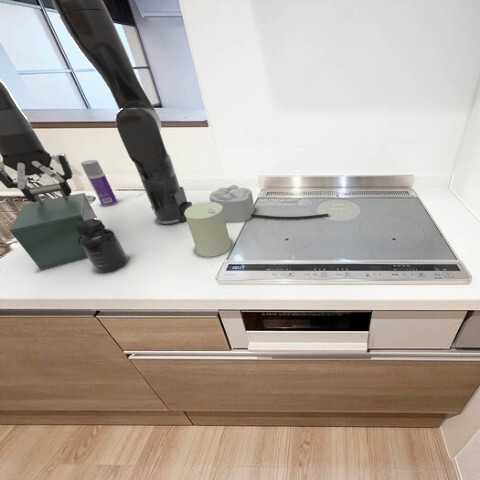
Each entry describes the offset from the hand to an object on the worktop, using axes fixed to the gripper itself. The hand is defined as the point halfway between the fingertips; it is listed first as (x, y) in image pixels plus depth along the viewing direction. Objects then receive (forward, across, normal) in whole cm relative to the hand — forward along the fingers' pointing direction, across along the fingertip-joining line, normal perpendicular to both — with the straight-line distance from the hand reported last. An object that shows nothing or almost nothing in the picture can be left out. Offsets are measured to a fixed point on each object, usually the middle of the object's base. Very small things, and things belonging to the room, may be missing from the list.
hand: (52, 197), depth 69 cm
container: (+13, +8, +21) cm, 26 cm away
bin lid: (+2, 0, -5) cm, 6 cm away
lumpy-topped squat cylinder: (+13, +43, -11) cm, 46 cm away
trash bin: (+13, 0, -6) cm, 14 cm away
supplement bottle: (+13, +8, -20) cm, 25 cm away
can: (+13, +32, -27) cm, 43 cm away
